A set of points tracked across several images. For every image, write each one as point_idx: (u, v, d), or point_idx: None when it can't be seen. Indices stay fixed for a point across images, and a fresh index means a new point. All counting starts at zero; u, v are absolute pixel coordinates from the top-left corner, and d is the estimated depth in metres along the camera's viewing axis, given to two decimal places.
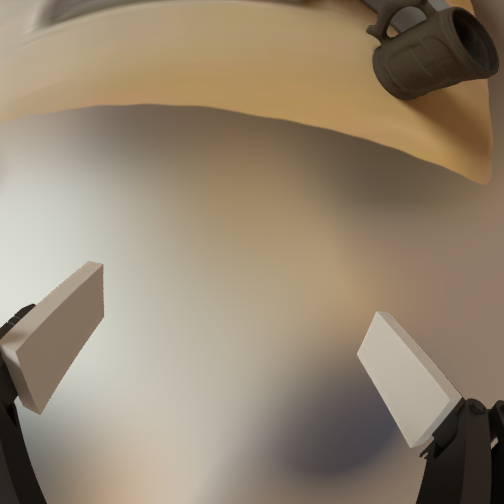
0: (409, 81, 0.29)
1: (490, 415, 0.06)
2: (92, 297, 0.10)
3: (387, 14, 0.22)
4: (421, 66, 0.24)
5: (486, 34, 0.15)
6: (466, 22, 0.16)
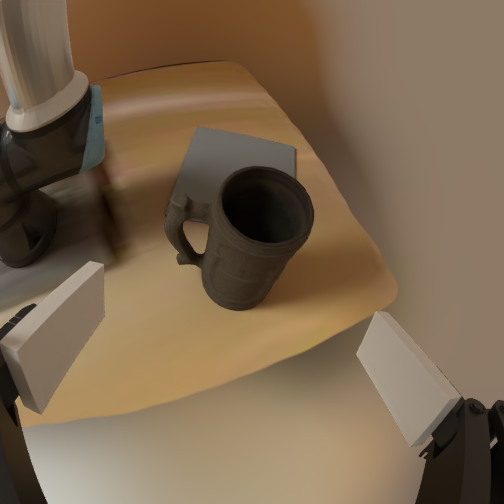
0: (242, 294, 0.36)
1: (489, 415, 0.06)
2: (93, 297, 0.10)
3: (175, 241, 0.32)
4: (238, 279, 0.32)
5: (281, 175, 0.28)
6: (254, 181, 0.29)
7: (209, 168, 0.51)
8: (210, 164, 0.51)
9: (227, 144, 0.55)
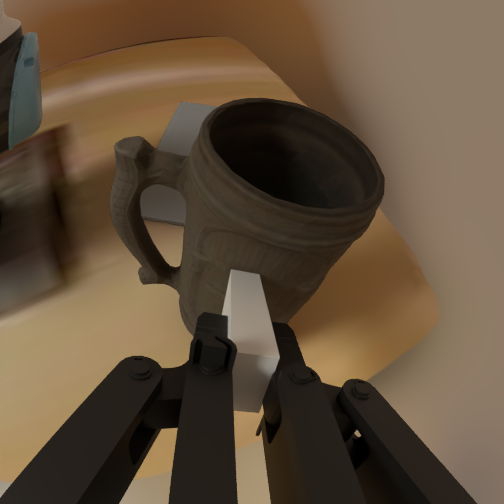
0: None
1: (340, 404, 0.07)
2: None
3: (129, 238, 0.18)
4: None
5: (311, 115, 0.15)
6: (264, 128, 0.16)
7: None
8: None
9: None
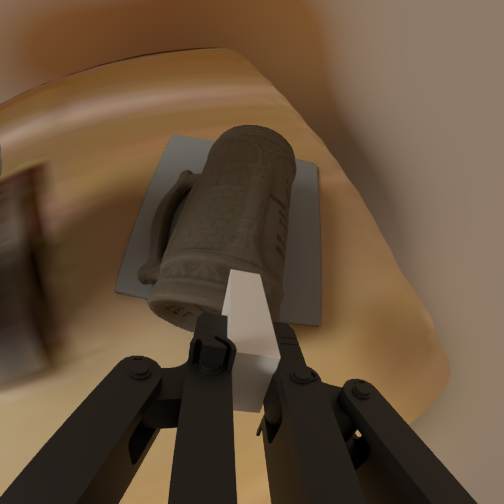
0: (209, 227, 0.20)
1: (340, 404, 0.07)
2: None
3: (159, 216, 0.28)
4: (211, 187, 0.23)
5: None
6: None
7: None
8: None
9: None
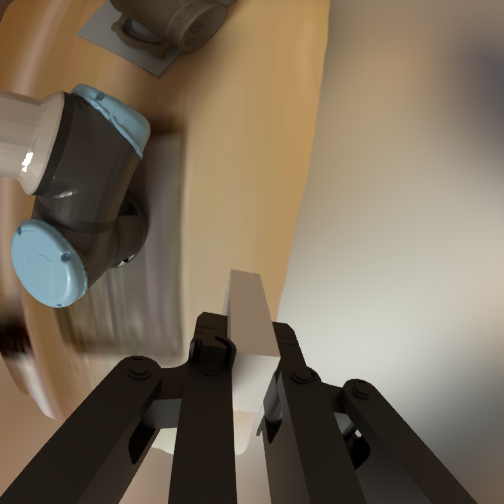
0: (165, 7, 0.27)
1: (340, 404, 0.07)
2: None
3: (132, 42, 0.34)
4: (143, 4, 0.27)
5: None
6: None
7: (130, 31, 0.34)
8: (127, 29, 0.34)
9: (113, 12, 0.32)
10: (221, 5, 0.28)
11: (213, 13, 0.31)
